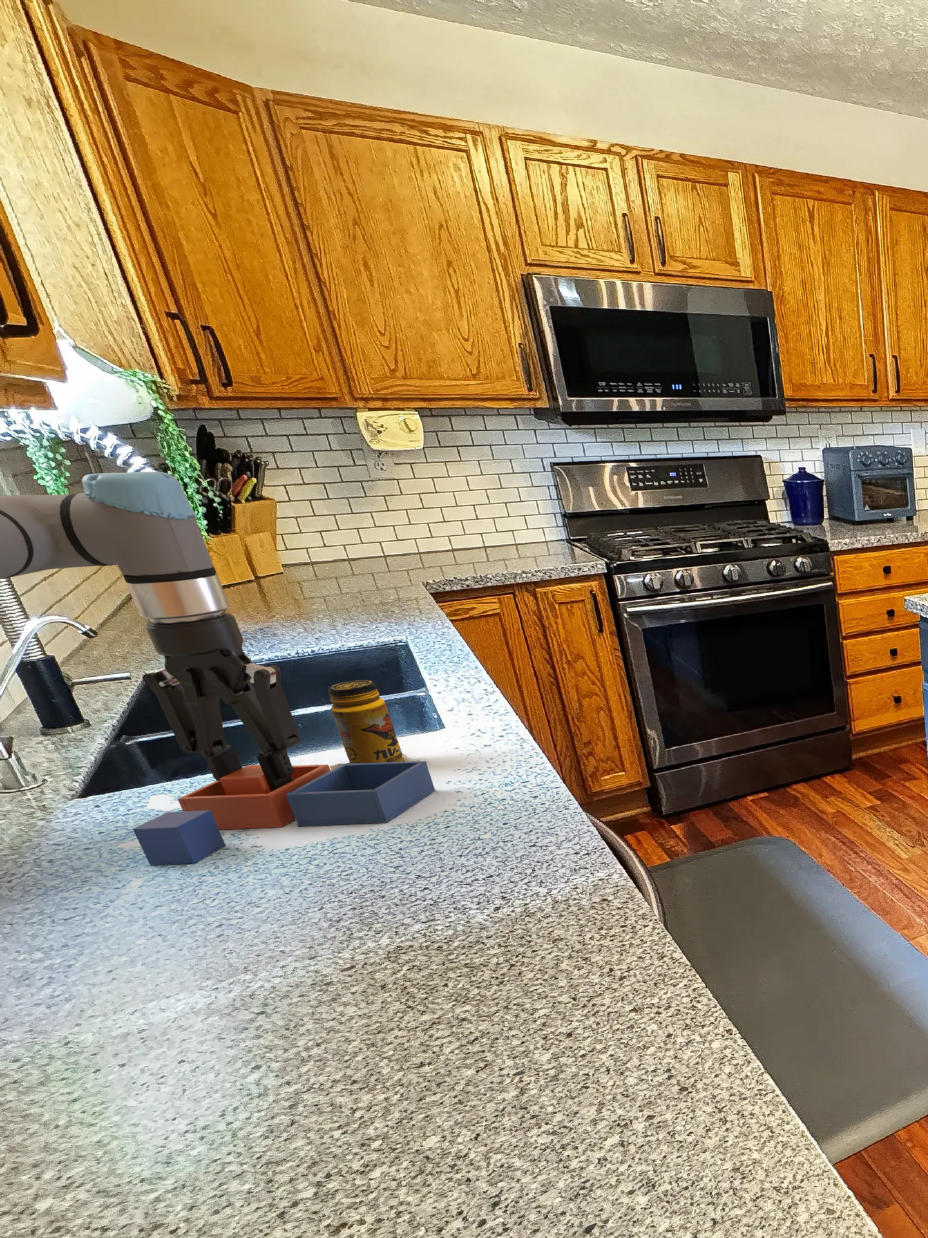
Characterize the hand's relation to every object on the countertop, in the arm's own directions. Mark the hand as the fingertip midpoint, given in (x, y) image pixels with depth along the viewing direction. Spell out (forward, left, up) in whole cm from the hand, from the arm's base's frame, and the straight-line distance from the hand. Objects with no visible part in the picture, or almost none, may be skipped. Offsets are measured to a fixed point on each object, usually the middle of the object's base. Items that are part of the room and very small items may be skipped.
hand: (265, 801), depth 108 cm
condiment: (+3, +15, -1) cm, 15 cm away
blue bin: (+12, 0, -1) cm, 12 cm away
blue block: (0, -12, -1) cm, 12 cm away
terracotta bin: (0, 0, -1) cm, 1 cm away
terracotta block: (0, 0, 0) cm, 0 cm away
